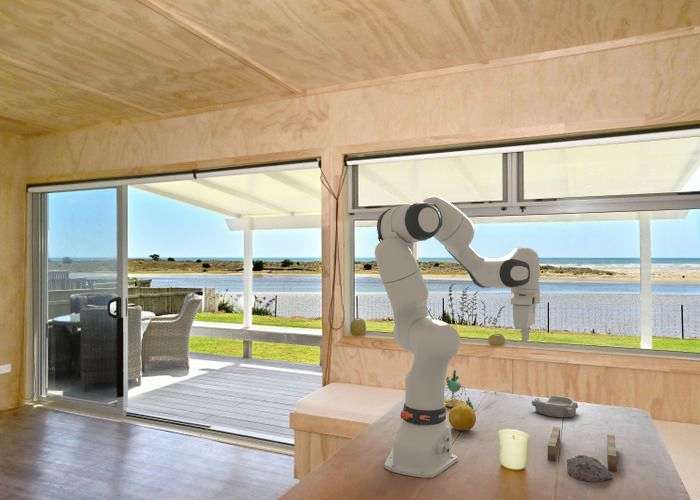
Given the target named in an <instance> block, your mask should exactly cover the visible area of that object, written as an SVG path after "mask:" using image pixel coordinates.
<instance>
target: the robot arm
mask: <svg viewBox="0 0 700 500" xmlns="http://www.w3.org/2000/svg"><path fill="white" fill-rule="evenodd" d="M376 222H377V223H376V231H377V238H378V239H377V240H378V241H379V242H378V243H377V244H376V247H375V248H374V257H375V263H376V266H377V269H378V273H379V277H380V278H381V282H382V284H383V287H384V289H385V292H386V295H387V298H388V300H389V303H390V306H391V309H392V313H393V319H394V327H393V330H392V331H393V332H392V333H393V338H394V341H395V342H396V343H397V345H399V346H400V347H401V348H402V349H403V350H404V351H406V352H409V353H412V354H413V362H412V366H411V368H410V371H409V372H408V373H407V374H406V376H405V379H404V380H405V381H404V383H405V384H404V385H405V387H404V390H405V391H404V392H405V394H404V395H405V397H404V398H405V401H404V402H405V403H404V404H403V408H402V410H401V411H400V414H399V418H400V419H402V420H400V424H399V427H398V430H397V432H396V435H395V439H394V442H393V445H392V446H393V447H392V448H391V450H390V453H389V454H388V456H387V458H386V460H385V462H384V466H383V468H384V469H386V470H387V471H389V472H392V473H397V474H401V475H404V476H410V477H415V478H417V477H418V478H435V477H436V476H438V475H439V474H441V473H442V472H443V471H445V470H446V469H448V468H449V467H451V466H452V465H453V464H455V463H456V462H458V455H456V454H454V453H453V443H452V429H451V428H450V426H449V425H448V424H447V422H446V419H447V409H446V408H447V406H445V405H444V400H445V391H444V390H446V389H445V388H446V384H445V383H446V376H447V370H448V368H449V364H450V363H451V362H450V361H451V359H452V358H454V357H455V356H456V355H457V353H458V352H459V349H460V347H461V338H460V333H459V332H458V331H457V329H456V328H455V327H453V325H450V324H449V323H447V322H445V321H443V320H442V319H441V320H440V319H434V318H432V317H431V316H430V314H429V312H428V306H427V300H428V298H429V290H428V287H427V284H426V283H425V280H424V277H423V274H422V272H421V269H420V267H419V264H418V262H417V260H416V257H415V255H414V254H415V253H414V243H417V242H418V243H419V242H422V241H423V242H424V241H427V240H429V239H431V238H434V239H435V240H436V241H438V242H439V243H440V244H441V245H443V247H444V248H445V250H446V251H447V252H448V253H449V254H450V256H451V257H453V258H454V260H455V261H456V262H457V263H458V264H460V266H461V267H463V268H464V269H465V271H466V272H467V274H468V275H469V277H470V279H471V280H472V282H473V284H474V285H475V286H477V287H479V288H481V289H482V288H483V289H485V288H496V289H499V288H500V289H510V305H512V317H513V318H512V319H513V326H514V329H516V330H520V333H521V340H522V342H528V341H529V339H530V331H531V326H533V325H534V324H535V323H536V309H537V308H536V305H539V304H540V303H541V299H540V297H541V295H540V294H541V293H540V291H541V290H540V288H541V287H540V284H539V280H540V276H541V275H540V273H541V272H540V270H541V269H540V268H541V267H540V259H539V254H538V252H537V251H536V250H535V249H532V248H529V247H522V246H521V247H515V248H513V249H512V251H511V252H510V253H509V254H507V255H504V256H503V257H484V256H481V255H480V254H478V253H477V252H476V250H474V249H473V248H472V247H471V246H470V245H471V243H472V241H473V239H474V237H475V226H474V224H473V222H472V220H471V219H470V218H469V216H467V215H466V214H465V213H463V212H462V211H461V210H460V209H458V208H457V207H456V206H455V205H454V204H452V203H450V202H449V201H447V200H445V199H444V198H442V197H440V196H436V195H431V196H428V197H426V198H425V199H424V200H423V201H418V202H414V203H409V204H401V205H397V206H395V207H392V208H388V209H387V210H385V211H384V212H382V213H380V215H379V216H378V219H377V221H376Z"/></svg>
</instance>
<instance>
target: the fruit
mask: <svg viewBox="0 0 700 500" xmlns="http://www.w3.org/2000/svg"><path fill="white" fill-rule="evenodd" d="M474 410H475V409H474ZM474 410H473V409H472V408H471V407H469V405H457V406H455V407H451V409H449V412H448V416H447V417H448V423H449V424H450V425H451V427H452V428H453V429H454V430H456V431H460V432H461V431H462V432H465V431H469V430H471V429H473V428H474V427H475V424H476V421H477V416H476V412H475V411H474Z"/></svg>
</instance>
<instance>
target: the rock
mask: <svg viewBox="0 0 700 500" xmlns="http://www.w3.org/2000/svg"><path fill="white" fill-rule="evenodd" d="M566 465H567V466H566V468H567V473H568V474H569V475H570V476H572V478H573V479H576V480H578V479H579V481H582V480H583V481H584V482H585V481H586V482H590V483H591V482H592V481H593V482H592V483H594V482H596V481H597V482H599V481H600V482H604V481H607V480H610V479H611V478H613V473H612V472H611V471H610V470H608V467H607V466H605V465H603V463H602V462H601V461H600V460H599V459H597V458H595V457H593V456H588V455H585V454H584V455H582V454H579V455H575V456H574V457H571V458H567V459H566ZM583 481H582V482H583Z"/></svg>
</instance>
